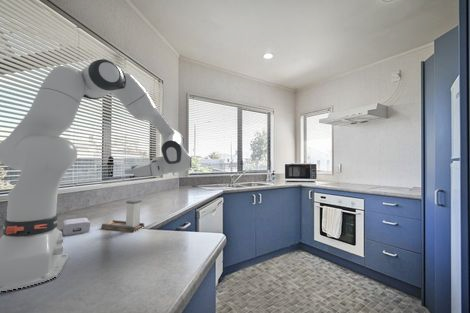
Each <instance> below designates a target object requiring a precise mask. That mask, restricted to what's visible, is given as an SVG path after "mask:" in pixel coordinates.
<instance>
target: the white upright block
mask: <svg viewBox="0 0 470 313" xmlns="http://www.w3.org/2000/svg"><path fill="white" fill-rule="evenodd" d="M141 203H142V200H141V199H130V200H129V199H128V200H127V201H126V203H125V204H126V216H125V221H126V226H130V227H136V226H138V225H139V224H140V223H141V222H140V219H141Z"/></svg>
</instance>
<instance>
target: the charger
mask: <svg viewBox="0 0 470 313" xmlns="http://www.w3.org/2000/svg"><path fill="white" fill-rule="evenodd" d="M90 230H91V222H90V221H89V219H88V218H87V217H80V218H79V217H78V218H71V219H65V220H63V221H62V235H64V236H71V235H79V234H84V233H85V234H86V233H89V232H90Z"/></svg>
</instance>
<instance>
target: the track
mask: <svg viewBox="0 0 470 313" xmlns="http://www.w3.org/2000/svg"><path fill="white" fill-rule="evenodd" d="M142 227H144V228H145V223H143V222H140V224H139V225H138V226H136V227H130V226H126V220H125V221H124V220H115V219H113V220H112V222H108V223H101V229H103V230H112V231H120V232H128V231H130V232H129V233H134V231H135V232H137V231H139V230H138V229H140V228H142ZM142 229H143V228H142ZM136 230H137V231H136ZM140 230H141V229H140Z"/></svg>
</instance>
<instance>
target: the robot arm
mask: <svg viewBox="0 0 470 313" xmlns="http://www.w3.org/2000/svg"><path fill="white" fill-rule="evenodd" d="M108 95H112V96H114V97H115V98H117V100H119V101H120V102H121V104H122V105H123V107H124V108H125V109H126V111H127V112H128V113H129V115H131V116H133V118H134V119H135V120H140V121H145V122H149V123H150V124H151V125H153V127H154V128H155V129H156V130H157V131H158V133H159V134H160V135H161V138H162V143H161V149H160V150H161V153H162V156H156V157H153V158H152V160H146V161H143V162H141V163H140V164H136V165H131V166H130V169H125V170H124V173H125V175H127V174H128V175H130V174H131V175H133V176H134V177H149V176H150V177H157V176H163V175H168V174H170V173H171V174H172V173H173V174H176V173H184V172H187V171H190V169H191V167H192V155H191V154H189V152H188V151H187V150H186V149H185V147H184V142H185V139H184V136H183V135H182V133H181V132H179V131H177V130H176V129H175V128H173V127H172V126H171V125H170V123H169V122H168V121H167V119H166V118H165V117H164V116H163V115H162V113H161V112H160V111H159V109H158V108H157V105H156V104H155V102H154V101H153V98H151V96H150V95H149V93H148V92H147V91H146V89H145V87H144V86H142V84H141V83H140V82H139V81H138V80H137V79H136V78H135V77H134V76H133V75H132V74H130V73H127V72H126V73H125V72H124V71H123V70H122V69H121V68H120V67H119V65H117V64H115V63H114V62H113V61H111V60H108V59H106V58H105V59H104V58H101V59H97V60H94V61H91V63H90V64H89V65H87V66H86V67H85V68H83V69H82V70H80V71H79V70H76V69H74V68H72V67H70V66H65V65H64V66H63V65H58V66H56V67H54V68H53V69H52V70H51V71H50V72H49V73H48V74H47V75H46V77H45V78H44V80H43V81H42V83H41V85H40V87H39V89H38V91H37V94H36V96H35V98H34V100H33V102H32V103H31V106H30V108H29V110H28V111H27V113H26V114H25V116H24V117H23V118H22V119H21V121H20V122H19V123H18V124H17V126H16V127H15V128H14V129H13V131H12V132H11V133H10V134H9V135H8V136H7V137H6V138H4V139H3V140H2V141H1V142H0V164H2V165H4V166H6V167H8V168H9V169H10V168H11V169H13V170H17V171H20V174H19V176H18V179H17V181H16V183H15V184H14V186H13V187H12V188H11V189H9V192H8V193H7V194H8V195H7V208H6V209H7V210H6V219H4V221H3V222H4V223H3V225H2V234H3V235H2V236H1V237H0V291H6V292H8V291H7V290H12V291H14V290H13V289H16V290H19V289H18V288H21V289H24V288H23V287H25V288H28V287H27V286H29V287H31V286H30V285H33V286H35V285H34V284H37V283H40V282H43V281H46V280H48V279H52V278H54V277H56V276H58V277H59V275H60V274H59V273H61V271H63V268H64V267H65V265H66V263H67V261H68V259H69V258H70V256H69V255H70V254H69V253H65V252H63V250H64V246H63V243H64V239H63V231H61V230H59V229H58V228H57V226H58V222H59V221H58V220H59V219H58V214H57V206H58V196H59V195H58V193H59V188H60V187H61V183H62V181H63V178H64V176H65V174H66V172H67V171H68V170H69V169H70V168H71V167H72V166H73V165H74V164H75V163H76V160H77V157H78V151H77V148H76V146H75V144H74V143H73V142H72V141H71V140H70V139H66V138H64V137H60V136H61V135H63V133H64V132H66V131H67V130H69V129H70V127H71V126H72V125H73V123H74V120H75V118H76V115H77V113H78V110H79V108H80V104H81V102H82V99H83V98H84V99H88V100H100V99H102V98H103V97H105V96H108ZM58 274H59V275H58ZM56 278H57V277H56ZM54 279H55V278H54ZM52 280H53V279H52ZM40 284H41V283H40ZM37 285H38V284H37Z"/></svg>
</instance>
